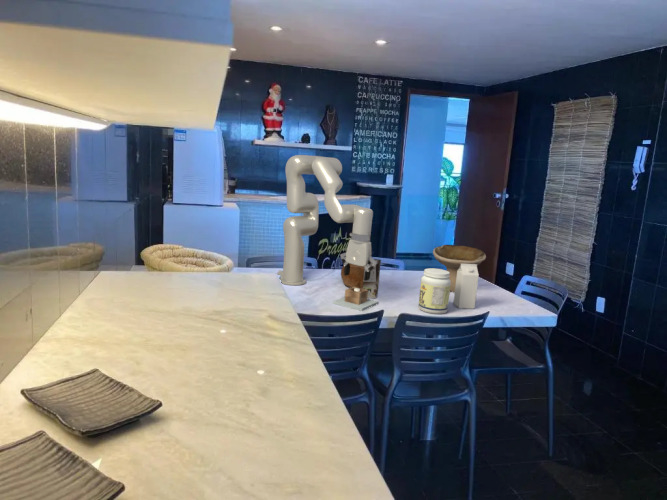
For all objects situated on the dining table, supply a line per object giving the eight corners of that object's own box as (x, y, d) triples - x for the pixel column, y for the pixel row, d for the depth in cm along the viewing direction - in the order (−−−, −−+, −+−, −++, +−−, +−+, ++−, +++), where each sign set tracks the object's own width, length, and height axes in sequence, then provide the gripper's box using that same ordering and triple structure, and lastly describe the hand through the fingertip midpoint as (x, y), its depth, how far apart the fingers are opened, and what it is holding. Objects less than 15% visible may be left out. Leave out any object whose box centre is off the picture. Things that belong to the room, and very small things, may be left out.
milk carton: (453, 303, 223) (458, 261, 219) (468, 304, 224) (474, 262, 220) (458, 308, 216) (463, 265, 212) (474, 309, 217) (479, 266, 213)
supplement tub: (415, 305, 216) (419, 266, 213) (443, 306, 217) (447, 268, 214) (421, 314, 204) (425, 273, 201) (451, 315, 205) (455, 275, 202)
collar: (344, 301, 211) (345, 289, 210) (353, 298, 217) (353, 286, 216) (358, 304, 207) (359, 293, 206) (367, 301, 213) (368, 290, 212)
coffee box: (376, 298, 221) (379, 263, 218) (361, 297, 223) (364, 261, 220) (378, 293, 230) (381, 259, 227) (364, 292, 231) (367, 257, 228)
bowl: (419, 286, 250) (423, 246, 246) (445, 279, 268) (449, 242, 264) (465, 298, 233) (471, 256, 229) (490, 290, 251) (495, 251, 247)
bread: (342, 290, 233) (344, 266, 230) (339, 275, 261) (340, 253, 259) (375, 292, 233) (377, 268, 231) (369, 276, 262) (370, 255, 260)
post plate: (333, 303, 210) (334, 288, 209) (350, 296, 222) (351, 282, 220) (361, 311, 203) (363, 295, 201) (378, 303, 214) (379, 289, 213)
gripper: (338, 234, 208) (334, 274, 212) (374, 242, 199) (370, 284, 203) (347, 233, 215) (343, 271, 218) (383, 240, 206) (378, 280, 209)
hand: (356, 277), depth 211 cm, fingers open, 9 cm apart
